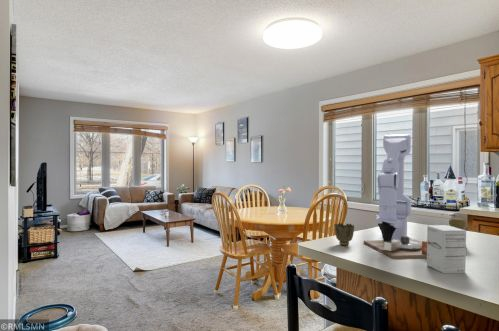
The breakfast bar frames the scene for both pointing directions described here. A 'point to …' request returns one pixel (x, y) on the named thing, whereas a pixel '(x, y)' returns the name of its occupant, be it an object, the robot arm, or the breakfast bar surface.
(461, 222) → the cork
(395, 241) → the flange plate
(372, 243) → the board
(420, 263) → the breakfast bar surface
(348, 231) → the cup
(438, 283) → the breakfast bar surface
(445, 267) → the supplement box
